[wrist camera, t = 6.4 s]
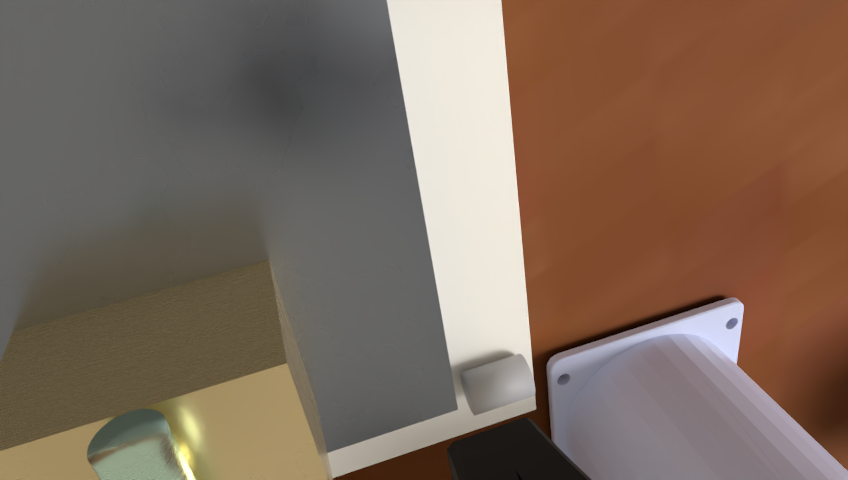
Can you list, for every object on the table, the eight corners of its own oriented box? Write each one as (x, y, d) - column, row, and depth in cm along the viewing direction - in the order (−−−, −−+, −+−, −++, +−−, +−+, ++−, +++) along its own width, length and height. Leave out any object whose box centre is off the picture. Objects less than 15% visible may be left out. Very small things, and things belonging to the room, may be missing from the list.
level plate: (446, 384, 22) (529, 562, 16) (-9, 531, 20) (-89, 796, 14) (350, -142, 14) (449, -136, 8) (-433, 6, 12) (-992, 143, 6)
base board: (519, 381, 25) (553, 438, 23) (-57, 571, 22) (-89, 661, 19) (449, -302, 14) (500, -332, 12) (-700, -128, 11) (-947, -121, 9)
